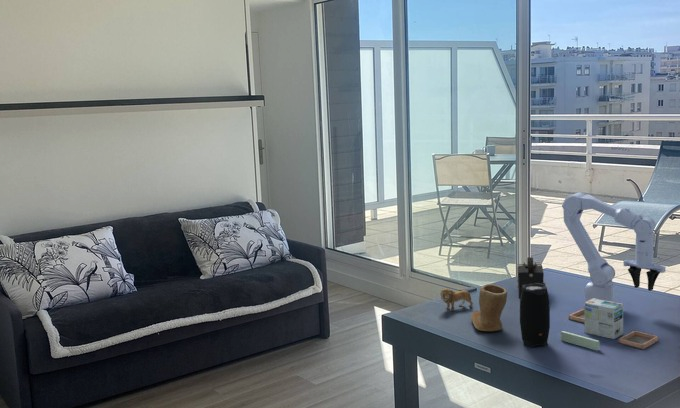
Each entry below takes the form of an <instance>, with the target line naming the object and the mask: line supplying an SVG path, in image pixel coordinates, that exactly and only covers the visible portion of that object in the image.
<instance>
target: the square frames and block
mask: <svg viewBox="0 0 680 408" xmlns="http://www.w3.org/2000/svg"><path fill="white" fill-rule="evenodd" d="M568 320H570V321H573V322H578V323H580V324H585V308H583V309H580V310H578V311H575V312H573V313H571V314H569V315H568ZM560 340H561V342H566V343H570V344H573V345H577V346H580V347H583V348H587V349H590V350H594V351H599V350H600V340H598V339H594V338H590V337H587V336H583V335H579V334H576V333H572V332H568V331H565V330H562V331H560ZM657 342H659V336H658V335H653V334H649V333H645V332H642V331H638V330H633V331H631V332H628V333H627V334H625V335H623V336H622V337H619V338H618V344H620V345H623V346H628V347H631V348H636V349H639V350H644V349H646V348H648V347H650V346H651V345H653V344H655V343H657Z"/></svg>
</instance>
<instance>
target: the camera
mask: <svg viewBox="0 0 680 408" xmlns="http://www.w3.org/2000/svg"><path fill="white" fill-rule="evenodd" d="M516 267H517V280H516V281H517V291H518V299H520V298H521V293H522V285H529V284H534V283H541V284H544V285H545V286H546V287H547V285H546V282H545V281H544V276H545V275H544V269H543V268H544V267H543V265H542V264H541V263H538V264H537V263H536V262H535V261H534V257H532V256H531V257H530V256H529V257H527V259H526V262H523V263H518V264H517V266H516Z"/></svg>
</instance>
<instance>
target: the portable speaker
mask: <svg viewBox="0 0 680 408" xmlns="http://www.w3.org/2000/svg"><path fill="white" fill-rule="evenodd" d="M550 306H551V305H550V297H549V293H548V288H547V285H546V286H545V285H544V284H541V283H534V284H529V285H522V293H521V298H519V325H520V334H521V340H522V343H523V345H524V346H525V347H529V348H534V347H535V346H542V347H547V346H548V340H549V335H550V326H551V325H550V323H551V314H550V313H551V312H550V311H551V309H550Z"/></svg>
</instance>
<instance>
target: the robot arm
mask: <svg viewBox="0 0 680 408" xmlns="http://www.w3.org/2000/svg"><path fill="white" fill-rule="evenodd" d="M561 208H562V211H563V222H564V225H565V226H566V228H567V230H568V231H569V234H570V235H571V237H572V238H573V240H574V242H575V244H576V245H577V247H578V249H579V251H580V253H581V254H582V257H584V259H585V262H586V263H587V271H588V273H589V279H590V281H589V282H588V283H587V284H586V285H585V288H584V303H585V302H587V301H589V300H591V299H593V298H595V299H600V300H605V301H611V302H614V283H613V279H614V278H615V276H616V270H615V268H614V267H613V266H612V265H611V264H610V263H608V261H607V260H606V259H605V258H604V257H602V256H601V254H600V252H599V251H598V249H597V247H596V245H595V244H594V241H593V240H592V239H591V237H590V235H589V233H588V232H587V230H586V228H585V226H584V224H583V223H582V222H581V217H582V214H583V211H587V210H594V211H597V212H599V213H601V214H604V215H606V216H609V217H611V218H613V220H614V221H615V223H617V224H619V225H622V226H623V227H625V228H628V229H629V230H633V231H634V233H635V260H632V259H631V260H630V259H625V260H623V265H622V266H624V267H628V269H627V272H628V273H629V274H630V277H631V278H632V283H633V286H634V288H635V289H637V288H640V283H641V274H642V273H641V272H642V270H648V271H646V273H645V274H646V277H647V291H653V290H654V287H655V283H656V281H657V279H658V277H659V275H660V273H661V274H663V273H665V272H666V271H667V270H666V268H667V267H666V266H665V265H660V264H657V263H655V262H654V230H655V228H656V221H655V220H654V219H653V218H651V217H650V216H648V215H646V216H644V215H643V214H641V213H640V214H638V213H637V212H634V211H632V210H631V208H628V207H625V208H624V207H620V208H616V207H614V206H612V205H610V204H608V203H607V202H604V201H603V200H600V199H598V198H596V197H594V196H593V195H591V194H589V193H588V194H587V193H585V192H582V191H578V192H576V193H574V194H570V195H568V196H567V197H565V198H564V201H563V203H562V206H561ZM583 307H584V308H585V304H583Z"/></svg>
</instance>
